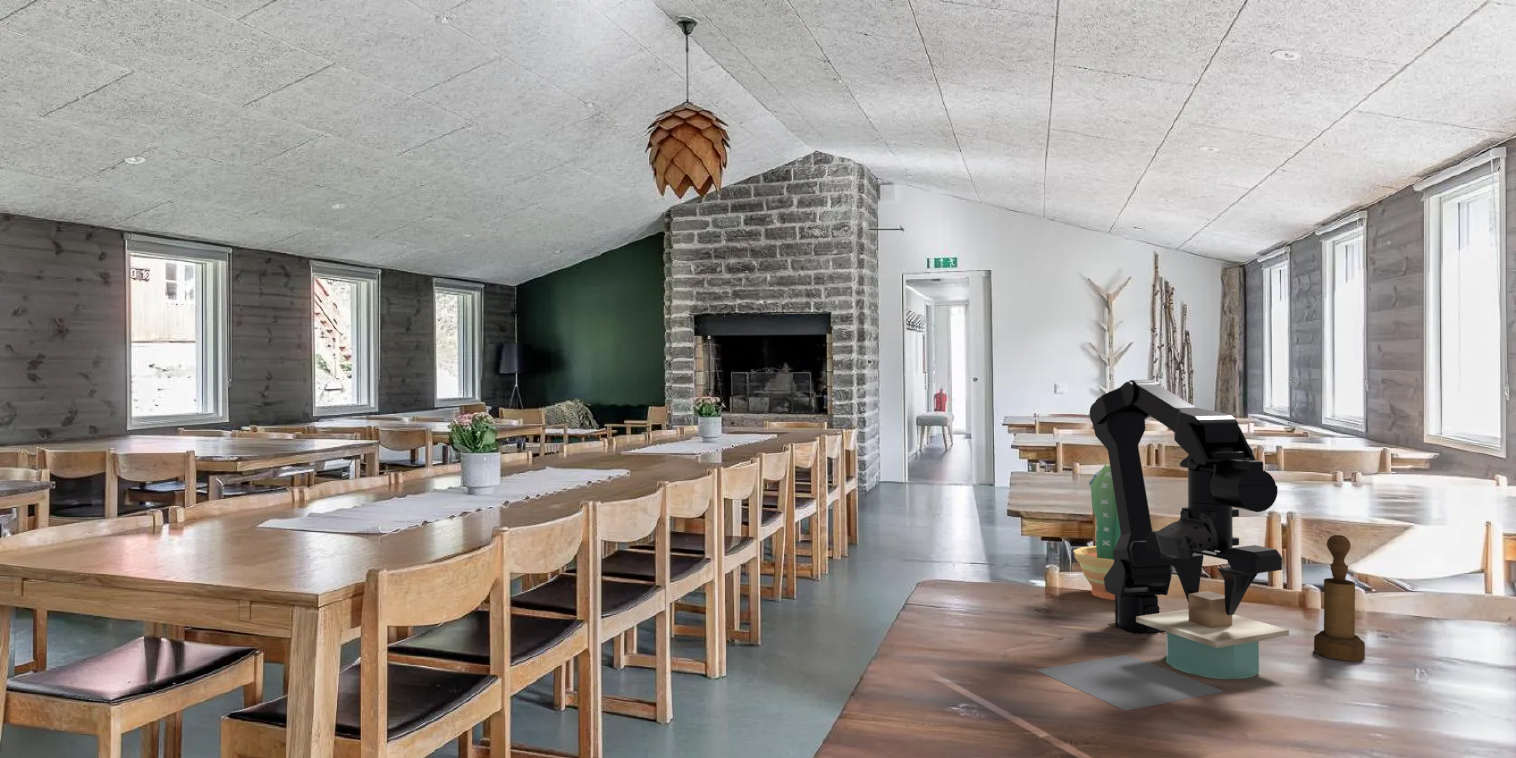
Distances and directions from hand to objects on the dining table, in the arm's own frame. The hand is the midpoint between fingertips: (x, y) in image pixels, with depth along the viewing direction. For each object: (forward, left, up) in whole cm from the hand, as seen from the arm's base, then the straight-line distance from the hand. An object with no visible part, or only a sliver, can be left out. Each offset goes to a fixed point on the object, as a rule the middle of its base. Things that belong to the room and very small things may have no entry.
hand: (1210, 609), depth 130 cm
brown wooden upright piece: (+3, +23, -9) cm, 25 cm away
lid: (0, 0, -3) cm, 3 cm away
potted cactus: (-39, +20, -9) cm, 45 cm away
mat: (0, -16, -9) cm, 18 cm away
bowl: (0, 0, -9) cm, 9 cm away
